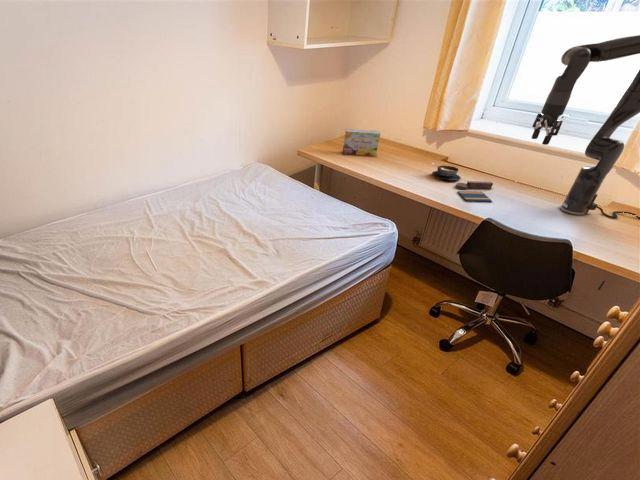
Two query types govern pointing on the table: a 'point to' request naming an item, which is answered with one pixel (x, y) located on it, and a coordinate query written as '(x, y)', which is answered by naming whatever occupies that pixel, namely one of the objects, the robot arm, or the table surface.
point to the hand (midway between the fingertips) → (539, 141)
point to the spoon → (474, 185)
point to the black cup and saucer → (446, 173)
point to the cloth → (474, 196)
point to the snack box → (361, 142)
